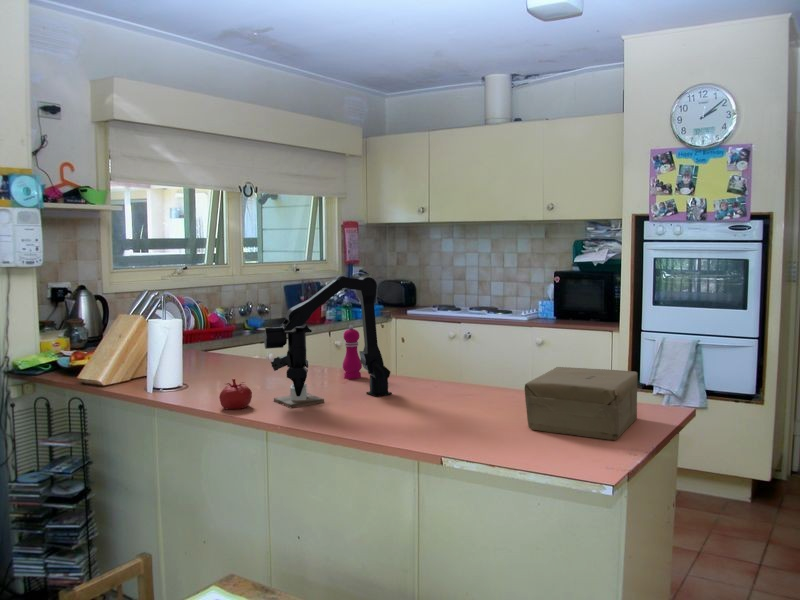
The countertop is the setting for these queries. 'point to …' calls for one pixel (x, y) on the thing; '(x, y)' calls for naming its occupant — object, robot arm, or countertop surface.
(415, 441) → the countertop surface
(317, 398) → the post stand
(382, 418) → the countertop surface
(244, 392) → the red tomato
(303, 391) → the white cube
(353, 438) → the countertop surface
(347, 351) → the pepper mill
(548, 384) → the paper package
